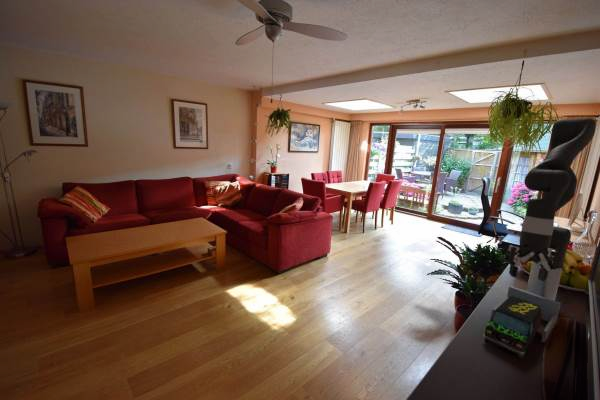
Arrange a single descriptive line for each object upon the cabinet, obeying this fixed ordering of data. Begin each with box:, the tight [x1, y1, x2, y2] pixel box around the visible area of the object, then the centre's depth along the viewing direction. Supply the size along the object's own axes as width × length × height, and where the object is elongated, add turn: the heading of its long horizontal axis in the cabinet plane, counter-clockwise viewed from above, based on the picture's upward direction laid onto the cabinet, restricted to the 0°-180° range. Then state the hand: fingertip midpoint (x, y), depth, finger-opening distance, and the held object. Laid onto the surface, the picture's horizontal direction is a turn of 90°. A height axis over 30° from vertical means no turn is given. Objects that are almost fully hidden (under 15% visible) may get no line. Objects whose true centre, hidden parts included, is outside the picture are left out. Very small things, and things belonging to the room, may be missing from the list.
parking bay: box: [490, 285, 562, 343], centre depth 98 cm, size 19×15×8 cm
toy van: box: [483, 296, 542, 359], centre depth 89 cm, size 11×25×10 cm, turn 129°
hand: (526, 278), depth 89 cm, fingers open, 8 cm apart
